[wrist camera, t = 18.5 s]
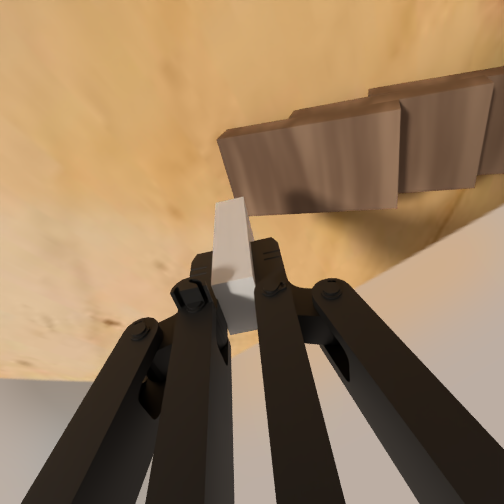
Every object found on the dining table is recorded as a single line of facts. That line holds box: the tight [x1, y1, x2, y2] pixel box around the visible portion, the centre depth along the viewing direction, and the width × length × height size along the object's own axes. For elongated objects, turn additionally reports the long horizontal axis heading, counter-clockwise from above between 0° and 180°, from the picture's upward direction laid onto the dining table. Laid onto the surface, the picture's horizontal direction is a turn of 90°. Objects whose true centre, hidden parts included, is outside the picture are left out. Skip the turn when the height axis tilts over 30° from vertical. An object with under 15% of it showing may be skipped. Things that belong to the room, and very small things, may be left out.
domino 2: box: [289, 75, 494, 193], centre depth 20 cm, size 2×6×11 cm
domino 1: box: [217, 100, 401, 216], centre depth 21 cm, size 2×6×11 cm
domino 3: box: [368, 66, 504, 175], centre depth 20 cm, size 2×6×11 cm
